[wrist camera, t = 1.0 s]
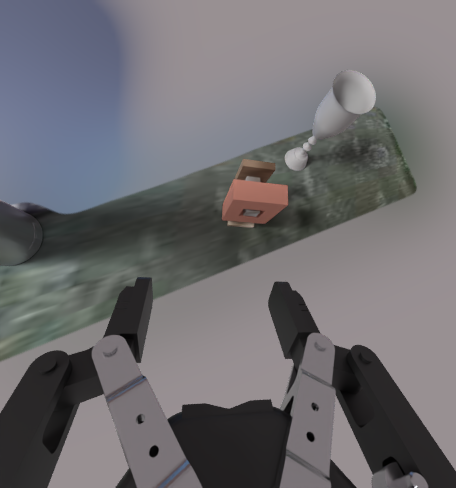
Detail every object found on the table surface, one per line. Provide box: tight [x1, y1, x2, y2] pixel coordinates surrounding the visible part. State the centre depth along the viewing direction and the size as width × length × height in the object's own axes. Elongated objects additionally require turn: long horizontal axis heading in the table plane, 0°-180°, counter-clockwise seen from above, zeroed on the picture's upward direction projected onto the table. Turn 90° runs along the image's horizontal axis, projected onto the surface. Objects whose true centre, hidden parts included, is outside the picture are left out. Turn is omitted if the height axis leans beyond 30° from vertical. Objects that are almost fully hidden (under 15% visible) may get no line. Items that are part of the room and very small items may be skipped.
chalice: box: [285, 70, 376, 171], centre depth 41 cm, size 7×7×18 cm
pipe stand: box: [227, 159, 275, 228], centre depth 40 cm, size 5×7×12 cm
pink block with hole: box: [222, 179, 288, 224], centre depth 38 cm, size 8×3×10 cm, turn 88°
